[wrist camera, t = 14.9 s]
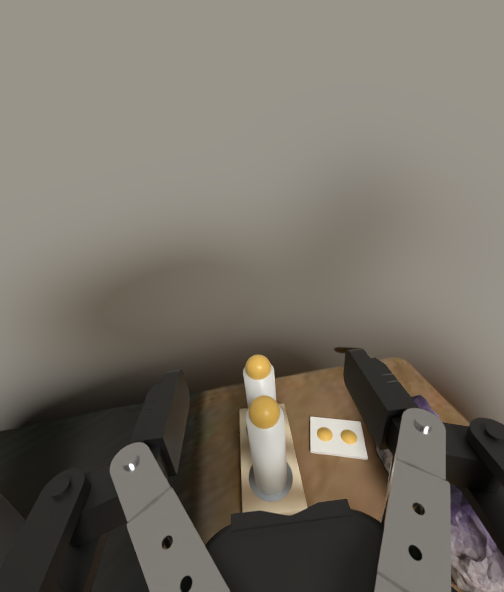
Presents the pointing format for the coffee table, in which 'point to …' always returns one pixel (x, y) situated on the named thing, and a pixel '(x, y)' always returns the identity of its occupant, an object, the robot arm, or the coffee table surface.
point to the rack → (252, 497)
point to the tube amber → (267, 444)
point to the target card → (337, 438)
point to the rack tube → (259, 378)
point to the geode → (466, 538)
